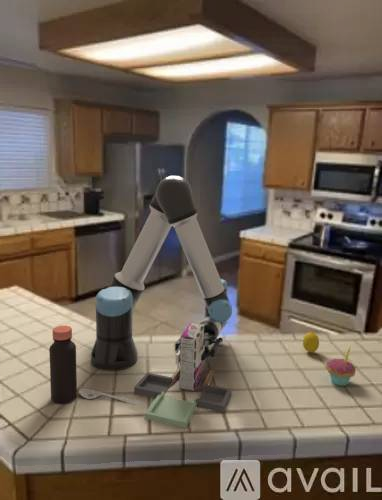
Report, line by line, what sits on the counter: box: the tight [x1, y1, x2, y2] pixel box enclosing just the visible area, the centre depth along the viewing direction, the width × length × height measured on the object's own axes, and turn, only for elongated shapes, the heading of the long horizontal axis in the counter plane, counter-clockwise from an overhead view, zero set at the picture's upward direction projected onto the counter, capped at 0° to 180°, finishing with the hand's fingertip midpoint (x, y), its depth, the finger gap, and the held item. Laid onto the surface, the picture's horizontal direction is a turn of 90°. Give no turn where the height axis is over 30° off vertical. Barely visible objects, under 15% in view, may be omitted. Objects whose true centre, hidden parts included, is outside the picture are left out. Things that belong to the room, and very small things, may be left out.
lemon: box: [302, 331, 320, 354], centre depth 141 cm, size 6×6×8 cm
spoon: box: [78, 388, 141, 405], centre depth 109 cm, size 4×21×2 cm, turn 79°
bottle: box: [48, 325, 78, 405], centre depth 107 cm, size 7×7×20 cm
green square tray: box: [144, 392, 198, 429], centre depth 104 cm, size 11×11×2 cm
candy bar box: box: [179, 322, 204, 392], centre depth 118 cm, size 11×5×16 cm, turn 166°
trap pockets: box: [133, 372, 232, 414], centre depth 112 cm, size 26×9×2 cm, turn 72°
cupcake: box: [325, 347, 357, 386], centre depth 121 cm, size 9×8×12 cm
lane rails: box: [171, 365, 215, 391], centre depth 121 cm, size 11×10×2 cm
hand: (186, 360), depth 113 cm, fingers closed on candy bar box, 5 cm apart
